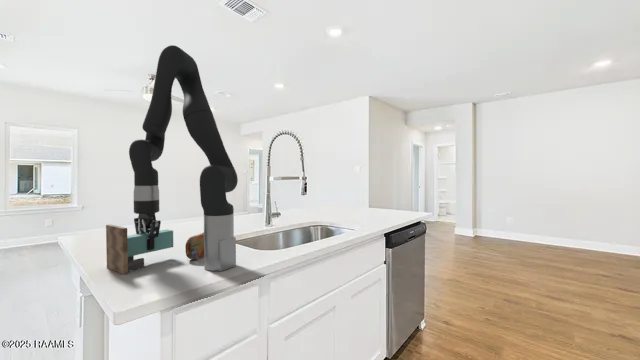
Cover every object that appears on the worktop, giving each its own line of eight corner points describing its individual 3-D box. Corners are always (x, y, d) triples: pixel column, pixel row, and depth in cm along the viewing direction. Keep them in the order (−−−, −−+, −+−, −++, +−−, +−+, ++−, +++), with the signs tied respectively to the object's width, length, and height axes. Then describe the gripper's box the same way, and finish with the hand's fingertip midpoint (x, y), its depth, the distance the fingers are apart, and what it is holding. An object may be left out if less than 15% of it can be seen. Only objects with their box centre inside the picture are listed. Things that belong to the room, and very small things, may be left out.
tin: (191, 262, 98) (191, 238, 98) (183, 262, 99) (183, 238, 99) (216, 251, 113) (215, 230, 113) (208, 250, 114) (208, 229, 113)
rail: (173, 247, 103) (173, 230, 103) (123, 257, 90) (123, 238, 90) (167, 245, 106) (167, 229, 105) (118, 255, 92) (117, 237, 92)
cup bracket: (147, 268, 92) (146, 225, 92) (123, 274, 86) (122, 228, 86) (129, 262, 99) (128, 222, 98) (106, 267, 93) (106, 224, 93)
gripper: (168, 199, 97) (169, 249, 97) (147, 197, 104) (148, 243, 105) (145, 200, 90) (145, 254, 91) (124, 198, 98) (125, 248, 99)
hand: (147, 248), depth 98 cm, fingers closed on rail, 4 cm apart
